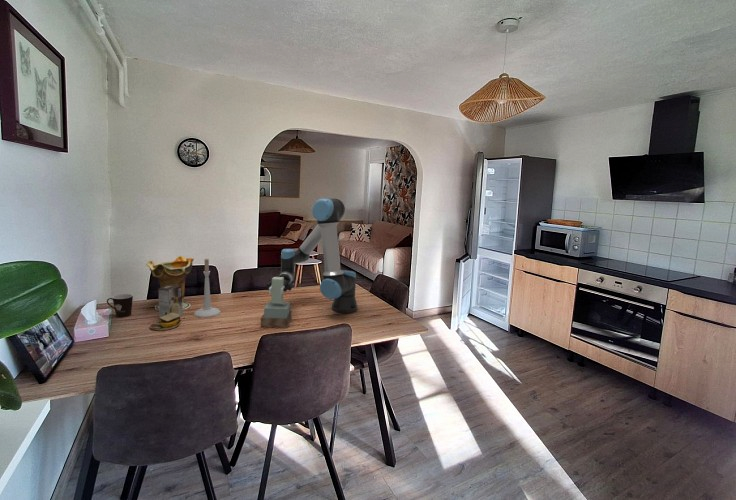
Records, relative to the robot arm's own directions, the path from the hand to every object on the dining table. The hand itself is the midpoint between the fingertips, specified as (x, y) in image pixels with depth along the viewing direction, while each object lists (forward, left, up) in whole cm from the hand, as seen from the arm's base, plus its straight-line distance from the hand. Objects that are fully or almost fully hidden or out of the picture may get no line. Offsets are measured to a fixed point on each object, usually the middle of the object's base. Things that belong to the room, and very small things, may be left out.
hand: (275, 291), depth 177 cm
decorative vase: (+61, -24, -18) cm, 68 cm away
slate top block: (0, -5, -13) cm, 14 cm away
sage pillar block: (0, -5, -6) cm, 8 cm away
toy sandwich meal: (+51, +4, -18) cm, 54 cm away
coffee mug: (+79, -8, -18) cm, 81 cm away
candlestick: (+39, -15, -18) cm, 46 cm away
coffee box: (+54, -7, -18) cm, 57 cm away
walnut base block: (0, -5, -18) cm, 19 cm away
